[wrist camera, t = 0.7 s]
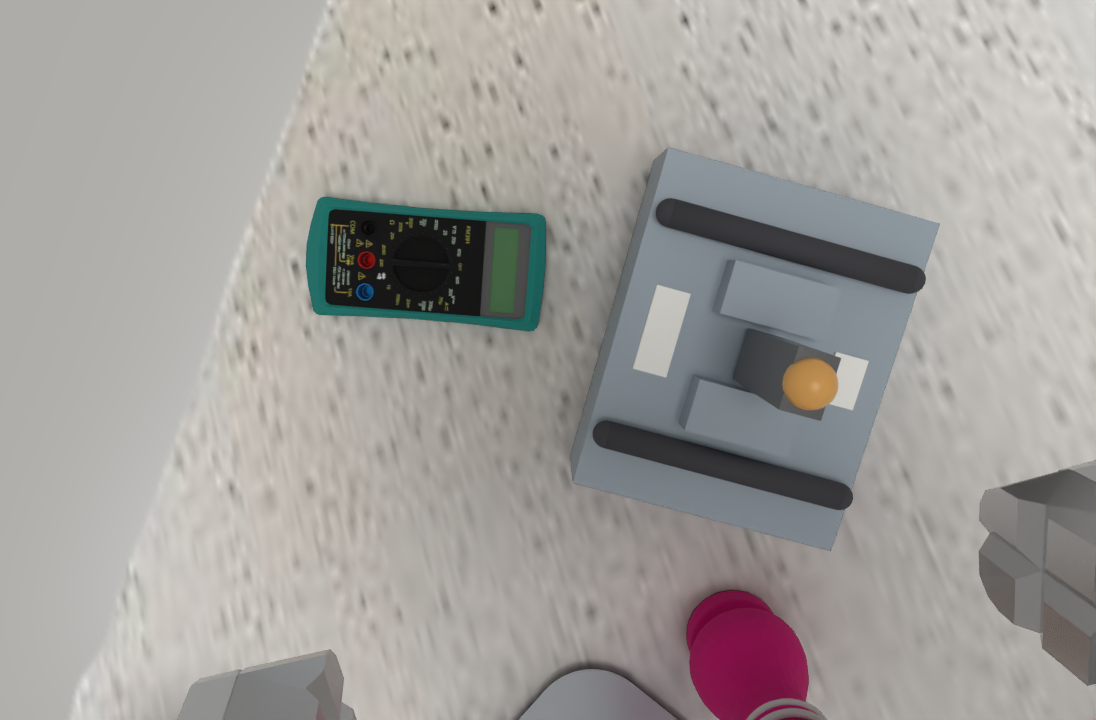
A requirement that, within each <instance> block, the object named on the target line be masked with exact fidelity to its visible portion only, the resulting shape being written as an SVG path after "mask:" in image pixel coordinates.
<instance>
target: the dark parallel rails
mask: <svg viewBox="0 0 1096 720" xmlns="http://www.w3.org/2000/svg"><path fill="white" fill-rule="evenodd" d="M656 218H657V220H658V222H659V223H660V224H661V225H663V226H665V227H668V228H672V229H676V230H679V231H683V232H686V233H690V234H694V235H697V236H701V237H704V238H708V239H712V240H715V241H719V242H722V243H726V244H730V245H733V246H737V247H740V248H744V249H748V250H751V251H755V252H758V253H762V254H766V255H769V256H773V257H776V258H780V259H784V260H787V261H791V262H794V263H798V264H802V265H805V266H809V267H812V268H816V269H820V270H823V271H827V272H830V273H834V274H838V275H841V276H845V277H848V278H852V279H856V280H859V281H863V282H866V283H870V284H874V285H877V286H881V287H884V288H888V289H892V290H895V291H899V292H902V293H906V294H912V293H916V292H918V291H919V290H921V289H922V287H923V286H924V284H925V280H926V277H925V274H924V272H923V270H922V269H920V268H919V267H917V266H914V265H911V264H907V263H904V262H900V261H896V260H893V259H889V258H886V257H882V256H879V255H875V254H871V253H868V252H864V251H861V250H857V249H853V248H850V247H846V246H843V245H839V244H836V243H832V242H828V241H825V240H821V239H818V238H814V237H811V236H807V235H803V234H800V233H796V232H793V231H789V230H785V229H782V228H778V227H775V226H771V225H768V224H764V223H760V222H757V221H753V220H750V219H746V218H743V217H739V216H735V215H732V214H728V213H725V212H721V211H717V210H714V209H710V208H707V207H703V206H700V205H696V204H692V203H689V202H685V201H682V200H678V199H674V198H667V199H664V200H663V201H661V202H660V203H659V205H658V206H657V209H656ZM593 439H594V441H595V443H596V444H597V445H598V446H600V447H602V448H605V449H609V450H613V451H617V452H620V453H624V454H628V455H632V456H635V457H639V458H643V459H647V460H650V461H654V462H658V463H662V464H665V465H669V466H673V467H677V468H680V469H684V470H688V471H692V472H695V473H699V474H703V475H707V476H710V477H714V478H718V479H722V480H725V481H729V482H733V483H737V484H740V485H744V486H748V487H752V488H755V489H759V490H763V491H767V492H770V493H774V494H778V495H782V496H785V497H789V498H793V499H797V500H800V501H804V502H808V503H812V504H815V505H819V506H823V507H827V508H830V509H834V510H844V509H846V508H848V507H849V506H850V504H851V503H852V500H853V494H852V491H851V490H850V488H849V487H848V486H847V485H845V484H843V483H840V482H836V481H832V480H829V479H825V478H821V477H818V476H814V475H810V474H806V473H803V472H799V471H795V470H791V469H788V468H784V467H780V466H776V465H773V464H769V463H765V462H762V461H758V460H754V459H750V458H747V457H743V456H739V455H735V454H732V453H728V452H724V451H720V450H717V449H713V448H709V447H706V446H702V445H698V444H694V443H691V442H687V441H683V440H679V439H676V438H672V437H668V436H664V435H661V434H657V433H653V432H650V431H646V430H642V429H638V428H635V427H631V426H627V425H623V424H620V423H616V422H612V421H608V420H605V421H601V422H599V423H598V424H597V425H596V426H595V427H594V429H593Z"/></svg>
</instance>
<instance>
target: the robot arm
mask: <svg viewBox="0 0 1096 720" xmlns="http://www.w3.org/2000/svg"><path fill="white" fill-rule="evenodd" d="M979 521H980V522H981V523H982V524H983V525H984V527H985V528H986V529H987V530H988V531H989V532H990V534H989V536H988V537H987V539H986V541H985V542H984V544H983V546H982V547H981V549H980V550H979V572H980V577H981V580H982V582H983V585H984V587H985V590H986V592H987V595H988V597H989V598H990V600H991V601H992V602H993V604H994V605H995V606H996V608H997V609H998V610H999V612H1001V613H1002V614H1003V615H1004V616H1005V617H1006V618H1007V619H1009V620H1010V621H1011V622H1012V623H1013V624H1015V625H1017V626H1020V627H1023V628H1026V629H1029V630H1032V631H1035V632H1038V633H1040V637H1041V643H1042V648H1043V649H1044V650H1045V651H1046V652H1048V653H1049V654H1050V655H1051V656H1052V657H1054V658H1055V659H1056V660H1057V661H1058V662H1060V663H1061V664H1062V665H1063V666H1064V667H1066V668H1067V669H1068V670H1069V671H1070V672H1072V673H1073V674H1074V675H1075V676H1076V677H1078V678H1079V679H1080V680H1081V681H1082V682H1084V683H1085V684H1086V685H1087V686H1088V685H1092V684H1096V460H1094V461H1091V462H1087V463H1083V464H1080V465H1076V466H1073V467H1069V468H1066V469H1062V470H1059V471H1058V472H1055V473H1051V474H1047V475H1043V476H1039V477H1035V478H1032V479H1028V480H1024V481H1020V482H1016V483H1012V484H1008V485H1004V486H1001V487H997V488H993V489H989V490H985V492H984V494H983V497H982V499H981V501H980V513H979ZM343 683H344V677H343V674H342V671H341V668H340V665H339V662H338V659H337V656H336V655H335V654H334V652H333V651H332V650H331V649H329V650H325V651H320V652H316V653H311V654H307V655H302V656H298V657H293V658H289V659H284V660H280V661H275V662H271V663H266V664H262V665H257V666H253V667H248V668H244V669H243V670H235V671H231V672H227V673H223V674H219V675H214V676H210V677H206V678H202V679H199V680H198V681H197V682H195V683H194V684H193V685H192V686H191V687H190V689H189V692H188V694H187V697H186V699H185V702H184V704H183V707H182V710H181V712H180V715H179V717H178V720H356V717H355V713H354V710H353V709H352V708H350V707H349V706H347V705H346V704H344V703H343V702H341V701H342V692H343Z"/></svg>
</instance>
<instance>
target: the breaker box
mask: <svg viewBox="0 0 1096 720" xmlns="http://www.w3.org/2000/svg"><path fill="white" fill-rule="evenodd" d="M667 198H674V199H678V200H682V201H685V202H689V203H692V204H696V205H700V206H703V207H707V208H710V209H714V210H717V211H721V212H725V213H728V214H732V215H735V216H739V217H743V218H746V219H750V220H753V221H757V222H760V223H764V224H768V225H771V226H775V227H778V228H782V229H785V230H789V231H793V232H796V233H800V234H803V235H807V236H811V237H814V238H818V239H821V240H825V241H828V242H832V243H836V244H839V245H843V246H846V247H850V248H853V249H857V250H861V251H864V252H868V253H871V254H875V255H879V256H882V257H886V258H889V259H893V260H896V261H900V262H904V263H907V264H911V265H914V266H917V267H919V268H920V269H922V270H923V272H924V270H925V267H926V264H927V261H928V258H929V255H930V252H931V249H932V246H933V243H934V240H935V237H936V234H937V231H938V228H939V225H940V224H939V223H936V222H932V221H928V220H925V219H921V218H918V217H914V216H911V215H907V214H904V213H900V212H897V211H893V210H889V209H886V208H882V207H879V206H875V205H872V204H868V203H865V202H861V201H857V200H854V199H850V198H847V197H843V196H840V195H836V194H833V193H829V192H826V191H822V190H818V189H815V188H811V187H808V186H804V185H801V184H797V183H794V182H790V181H786V180H783V179H779V178H776V177H772V176H769V175H765V174H762V173H758V172H755V171H751V170H747V169H744V168H740V167H737V166H733V165H730V164H726V163H723V162H719V161H716V160H712V159H708V158H705V157H701V156H698V155H694V154H691V153H687V152H684V151H680V150H676V149H673V148H669V147H668V148H667V149H666V150H665V151H664V152H663V153H662V154H660V155H659V156H658V157H657V158H656V159H655V160H654V162H653V166H652V169H651V173H650V176H649V180H648V183H647V187H646V190H645V194H644V197H643V201H642V204H641V208H640V212H639V215H638V219H637V222H636V226H635V229H634V233H633V236H632V240H631V243H630V247H629V250H628V254H627V257H626V261H625V264H624V268H623V272H622V275H621V279H620V282H619V286H618V289H617V293H616V296H615V300H614V303H613V307H612V310H611V314H610V317H609V321H608V325H607V328H606V332H605V335H604V339H603V342H602V346H601V349H600V353H599V356H598V360H597V363H596V367H595V370H594V374H593V377H592V381H591V385H590V388H589V392H588V395H587V399H586V402H585V406H584V409H583V413H582V416H581V420H580V423H579V427H578V430H577V434H576V438H575V441H574V445H573V448H572V452H571V455H570V462H571V471H572V479H573V483H575V484H579V485H582V486H586V487H590V488H594V489H598V490H601V491H605V492H609V493H613V494H616V495H620V496H624V497H628V498H632V499H635V500H639V501H643V502H647V503H651V504H654V505H658V506H662V507H666V508H669V509H673V510H677V511H681V512H685V513H688V514H692V515H696V516H700V517H703V518H707V519H711V520H715V521H719V522H722V523H726V524H730V525H734V526H738V527H741V528H745V529H749V530H753V531H756V532H760V533H764V534H768V535H772V536H775V537H779V538H783V539H787V540H790V541H794V542H798V543H802V544H806V545H809V546H813V547H817V548H821V549H825V550H828V551H831V550H832V547H833V544H834V541H835V538H836V535H837V532H838V529H839V526H840V523H841V520H842V517H843V514H844V511H845V509H844V510H834V509H830V508H827V507H823V506H819V505H815V504H812V503H808V502H804V501H800V500H797V499H793V498H789V497H785V496H782V495H778V494H774V493H770V492H767V491H763V490H759V489H755V488H752V487H748V486H744V485H740V484H737V483H733V482H729V481H725V480H722V479H718V478H714V477H710V476H707V475H703V474H699V473H695V472H692V471H688V470H684V469H680V468H677V467H673V466H669V465H665V464H662V463H658V462H654V461H650V460H647V459H643V458H639V457H635V456H632V455H628V454H624V453H620V452H617V451H613V450H609V449H605V448H602V447H600V446H598V445H597V444H596V443H595V441H594V439H593V429H594V427H595V426H596V425H597V424H598V423H599V422H601V421H605V420H608V421H612V422H616V423H620V424H623V425H627V426H631V427H635V428H638V429H642V430H646V431H650V432H653V433H657V434H661V435H664V436H668V437H672V438H676V439H679V440H683V441H687V442H691V443H694V444H698V445H702V446H706V447H709V448H713V449H717V450H720V451H724V452H728V453H732V454H735V455H739V456H743V457H747V458H750V459H754V460H758V461H762V462H765V463H769V464H773V465H776V466H780V467H784V468H788V469H791V470H795V471H799V472H803V473H806V474H810V475H814V476H818V477H821V478H825V479H829V480H832V481H836V482H840V483H843V484H845V485H847V486H848V487H849V488H850V490H851V489H852V486H853V483H854V480H855V477H856V474H857V471H858V468H859V465H860V462H861V459H862V456H863V453H864V450H865V447H866V444H867V441H868V438H869V435H870V432H871V429H872V426H873V423H874V420H875V417H876V414H877V411H878V408H879V405H880V402H881V399H882V396H883V393H884V390H885V387H886V384H887V381H888V378H889V375H890V372H891V369H892V366H893V363H894V360H895V357H896V354H897V351H898V348H899V345H900V342H901V339H902V336H903V333H904V330H905V327H906V324H907V321H908V318H909V315H910V312H911V309H912V306H913V303H914V300H915V297H916V294H917V292H916V293H912V294H906V293H902V292H899V291H895V290H892V289H888V288H884V287H881V286H877V285H874V284H870V283H866V282H863V281H859V280H856V279H852V278H848V277H845V276H841V275H838V274H834V273H830V272H827V271H823V270H820V269H816V268H812V267H809V266H805V265H802V264H798V263H794V262H791V261H787V260H784V259H780V258H776V257H773V256H769V255H766V254H762V253H758V252H755V251H751V250H748V249H744V248H740V247H737V246H733V245H730V244H726V243H722V242H719V241H715V240H712V239H708V238H704V237H701V236H697V235H694V234H690V233H686V232H683V231H679V230H676V229H672V228H668V227H665V226H663V225H661V224H660V223H659V222H658V220H657V218H656V209H657V206H658V205H659V203H660V202H661V201H663V200H664V199H667ZM748 328H749V329H754V330H757V331H761V332H765V333H768V334H772V335H775V336H778V337H782V338H785V339H788V340H791V341H794V342H796V343H799V344H802V345H805V346H808V347H811V348H814V349H817V350H820V351H823V352H825V353H828V354H831V355H834V356H837V357H840V358H841V361H840V364H839V367H838V370H837V373H836V375H837V378H838V391H837V394H836V396H835V398H834V399H833V401H832V402H831V403H830V404H828V405H827V406H826V407H825V410H824V413H823V416H822V420H821V421H819V420H815V419H811V418H807V417H804V416H800V415H796V414H793V413H789V412H785V411H782V410H779V409H777V408H776V407H774V406H772V405H771V404H769V403H768V402H766V401H765V400H763V399H762V398H760V397H759V396H757V395H756V394H754V393H753V392H751V391H750V390H748V389H747V388H745V387H744V386H742V385H741V384H739V383H738V382H736V381H735V380H733V376H734V372H735V369H736V366H737V363H738V359H739V356H740V353H741V350H742V346H743V343H744V340H745V337H746V333H747V330H748Z"/></svg>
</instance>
